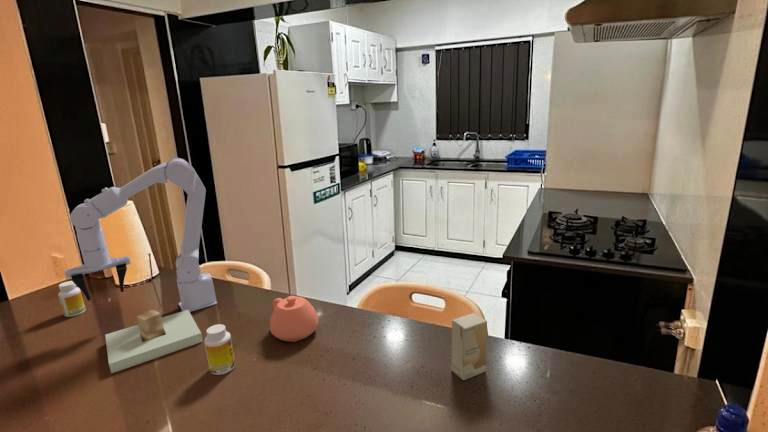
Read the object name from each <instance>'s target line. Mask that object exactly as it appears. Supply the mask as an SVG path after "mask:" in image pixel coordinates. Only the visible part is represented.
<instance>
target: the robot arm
mask: <svg viewBox="0 0 768 432" xmlns="http://www.w3.org/2000/svg"><path fill="white" fill-rule="evenodd" d="M168 180H169V181H170V182H171V183H172V184H175V185H176V186H178V187H180V188H181V189H182V190H183V191H184V192H185V193H186V194H187V198H186V199H187V200H186V206H185V214H184V215H185V216H184V221H183V222H184V223H183V233H182V241H181V247H180V252H179V255H178V256H177V257H176V259H175V267H176V283H177V289H178V293H179V298H180V302H178V306H179V308H180V309H181V312H182V311H185V310H189V312H190V313H191V312H194V311H199V310H201V309H204V308H208V307H211V306H215V305H217V304H218V302H217V297H216V291H215V287H214V286H215V285H214V282H213V278H212V276H211V274H210V273H203V271H202V270H201V266H200V264H199V259H200V258H199V256H200V255H199V254H200V252H199V250H200V241H201V233H202V225H203V218H204V210H205V209H204V208H205V201H206V193H207V191H206V187H205V185H204V183H203V181H202V180H201V178H200V177H199V175H198V174H197V172H196V170H195V168H194V167H193V165H191V164H190V163H189V162H188V161H186V159H184V158H180V157H173V158H171V159H170V160H168V161H167V162H163V163H160V164H157V165H156V166H153V167H152V168H150V169H149V170H147V171H145V172H143V173H141V175H138V176H137V177H136V178H134V179H132V180H131V181H129V182H128V183H126V184H124V185H123V186H121V187H115V186H111V187H109V188H108V187H104V188H103V189H102V188H101V192H100V193H99V194H96V195H95V196H93V197H92V198H90V199H89V198H86V199H84V201H83V203H80V204H78V205H77V206H76V207H74V209H73V210H72V211H71V212H70V216H69V220H70V222H71V224H72V225H73V227H75V232H76V237H77V241H78V244H79V249H80V252H81V256H82V261H83V264H82V265H79V266H74V267H70V268H67V269H65V270H64V275H65V278H66V280H68V279H71V281H73V282H74V284H76V287H78V288H80V290H81V293H82V294H84V296H85V298H86V299H87V302H89V301H91V300H92V298H91V293H90V291H89V289H88V286H87V285H88V284H87V282H86V278H85V275H86V274H90V273H95V272H99V271H100V272H101V271H103V270H109V269H113V268H115V269H116V274H117V277H118V283H119V284H118V285H119V289H120V292H121V293H123V292H125V290H124V287H125V286H124V285H125V284H124V283H125V278H126V274H127V270H128V267H127V266H128V265H131V264H132V263H131V260H130V256H129V255H126V256H121V257H115V258H110V255H109V250H108V245H107V243H106V242H107V241H106V238H105V235H104V230H103V228H102V226H101V221H100V220H99V219H103V218H106V217H108V216H110V215H111V214H113V213H115V212H117V211H118V210H120V209H121V208H123V207H125V206H126V205H127V204H128V201H129V198H130V197H133V196H134V195H136V194H138V193H139V192H141V191H143V190H145V189H147V188H148V187H150V186H152V185H154V184H168ZM201 271H202V272H201Z"/></svg>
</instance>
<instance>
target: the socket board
mask: <svg viewBox="0 0 768 432" xmlns="http://www.w3.org/2000/svg"><path fill="white" fill-rule="evenodd" d="M161 318H162V323H163V327H164V332H165V335H163V336H160V337H157V338H154V339H151V340H148V341H145V342H142V338H141V333H140V329H139V325H138V324H136V325H133V326H129V327H126V328H122V329H119V330H116V331H112V332H110V333H105V334H104V335H105V344H106V352H107V353H106V354H107V361H108V366H109V367H108V368H109V369H110V373H111V374H113V373H118V372H120V371H123V370H126V369H128V368H131V367H133V366H137V365H140V364H143V363H145V362H148V361H151V360H154V359H157V358H161V357H163V356H165V355H168V354H171V353H174V352H177V351H180V350H183V349H186V348H189V347H191V346H194V345H197V344H199V343H200V344H201V343H204V342H203V341H204V339H203V335H202V331H201V329H199V327H198V325H197V322H196V321H195V319H194V317H193V316H192V314H191V312H189V310H185V311H182V310H181V311H180V312H176V313H172V314H169V315H165V316H163V317H162V316H161Z"/></svg>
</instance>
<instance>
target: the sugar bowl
mask: <svg viewBox="0 0 768 432" xmlns="http://www.w3.org/2000/svg"><path fill="white" fill-rule="evenodd" d="M272 307H273V311H272V314H271V317H270V320H269V329H270V330H269V331H270V332H271V334H272V335H273V336H274V337H275V338H277V339H279V340H281V341H283V342H291V343H297V342H298V341H302V340H303V339H307V338H308V337H309V336H311V335H312V334H313V333H314V332H315V330H316V329H317V328H318V326H319V324H320V323H319V317H318V314H317V311H316V310H315V309H316V308H314V306H313V305H312V304H311V303H310V302H309V301H308V300H307V299H306V298H305V297H301V296H296V295H289V296H287V297H284V298H281V297H278V298H275V299H273V301H272Z"/></svg>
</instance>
